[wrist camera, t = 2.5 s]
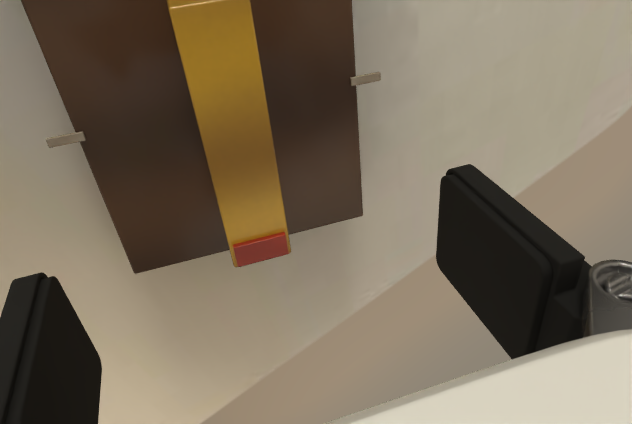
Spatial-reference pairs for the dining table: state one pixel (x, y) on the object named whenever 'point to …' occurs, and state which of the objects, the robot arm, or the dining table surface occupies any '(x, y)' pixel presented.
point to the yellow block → (233, 123)
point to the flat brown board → (181, 125)
